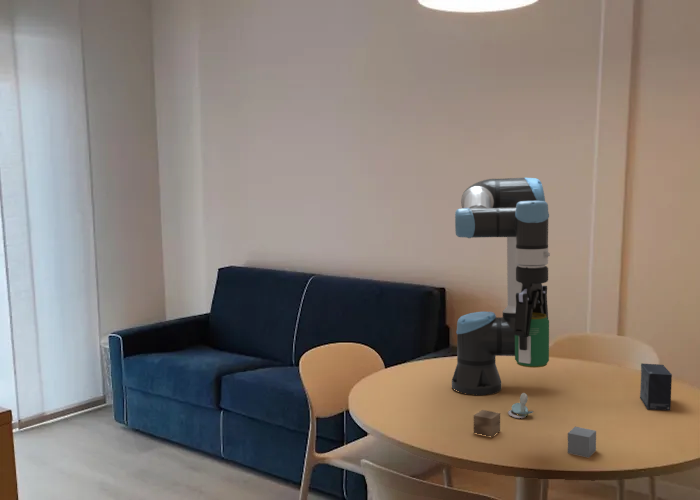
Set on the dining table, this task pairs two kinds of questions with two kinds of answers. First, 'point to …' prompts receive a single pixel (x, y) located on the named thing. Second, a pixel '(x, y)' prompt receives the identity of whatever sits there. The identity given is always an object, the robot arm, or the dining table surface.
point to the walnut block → (487, 423)
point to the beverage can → (536, 341)
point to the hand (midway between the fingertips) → (531, 358)
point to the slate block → (582, 442)
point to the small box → (655, 387)
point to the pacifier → (520, 408)
